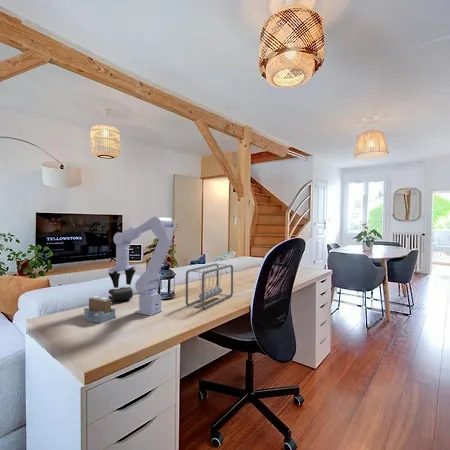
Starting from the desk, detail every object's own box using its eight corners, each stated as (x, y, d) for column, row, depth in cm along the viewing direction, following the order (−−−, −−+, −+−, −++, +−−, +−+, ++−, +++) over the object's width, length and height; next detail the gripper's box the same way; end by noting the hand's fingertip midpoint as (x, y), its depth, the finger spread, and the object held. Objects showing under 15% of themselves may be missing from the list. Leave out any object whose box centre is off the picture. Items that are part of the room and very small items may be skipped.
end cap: (114, 304, 137) (114, 291, 137) (107, 302, 142) (107, 288, 142) (132, 300, 144) (133, 287, 144) (126, 298, 149) (126, 285, 149)
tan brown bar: (110, 312, 116) (110, 298, 116) (104, 314, 114) (104, 299, 113) (94, 308, 121) (94, 295, 121) (88, 310, 118) (88, 296, 118)
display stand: (116, 317, 118) (116, 308, 118) (100, 323, 111) (101, 313, 111) (98, 313, 123) (98, 304, 123) (83, 319, 116) (83, 308, 116)
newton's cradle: (217, 293, 160) (217, 262, 160) (233, 296, 155) (233, 264, 155) (185, 307, 134) (185, 270, 134) (203, 310, 129) (203, 272, 129)
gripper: (128, 255, 142) (128, 282, 142) (104, 258, 129) (103, 288, 129) (138, 256, 139) (138, 283, 139) (114, 259, 126) (114, 289, 126)
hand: (122, 285), depth 134 cm, fingers open, 7 cm apart
